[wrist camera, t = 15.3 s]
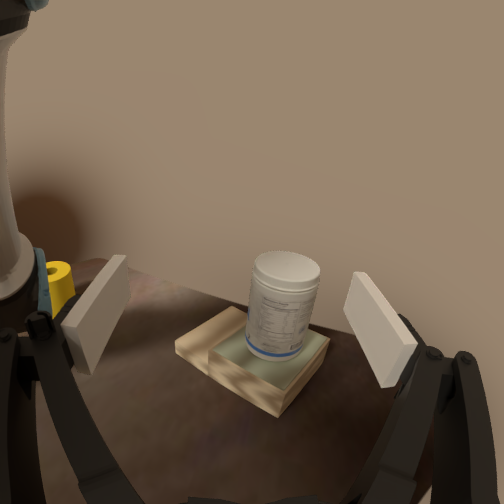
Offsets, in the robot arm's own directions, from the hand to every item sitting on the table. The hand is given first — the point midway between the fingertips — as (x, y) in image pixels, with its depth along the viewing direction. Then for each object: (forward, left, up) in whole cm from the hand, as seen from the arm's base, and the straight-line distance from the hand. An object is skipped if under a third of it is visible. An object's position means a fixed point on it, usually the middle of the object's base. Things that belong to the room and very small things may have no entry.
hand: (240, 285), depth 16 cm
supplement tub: (-8, +22, -24) cm, 33 cm away
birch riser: (-12, +22, -30) cm, 39 cm away
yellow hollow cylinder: (-52, +2, -30) cm, 60 cm away
